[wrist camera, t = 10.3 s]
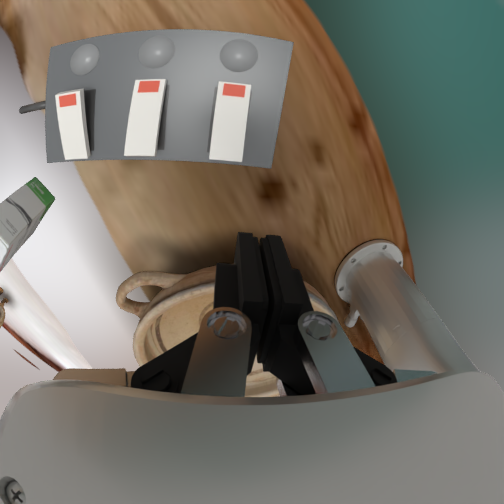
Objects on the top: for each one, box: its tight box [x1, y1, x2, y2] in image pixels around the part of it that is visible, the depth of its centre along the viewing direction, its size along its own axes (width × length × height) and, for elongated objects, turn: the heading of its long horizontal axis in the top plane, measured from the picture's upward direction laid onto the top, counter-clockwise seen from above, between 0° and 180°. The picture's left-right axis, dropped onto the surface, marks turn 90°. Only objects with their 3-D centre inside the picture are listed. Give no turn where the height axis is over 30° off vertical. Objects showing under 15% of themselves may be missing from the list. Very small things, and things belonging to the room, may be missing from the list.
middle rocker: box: [124, 79, 167, 156], centre depth 21 cm, size 8×3×1 cm, turn 171°
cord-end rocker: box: [55, 89, 91, 160], centre depth 20 cm, size 8×3×1 cm, turn 172°
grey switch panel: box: [19, 29, 294, 168], centre depth 22 cm, size 14×32×3 cm, turn 81°
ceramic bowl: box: [116, 266, 339, 397], centre depth 39 cm, size 37×29×10 cm
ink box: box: [0, 177, 55, 272], centre depth 23 cm, size 9×5×12 cm, turn 124°
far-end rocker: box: [209, 81, 251, 162], centre depth 23 cm, size 8×3×1 cm, turn 171°
